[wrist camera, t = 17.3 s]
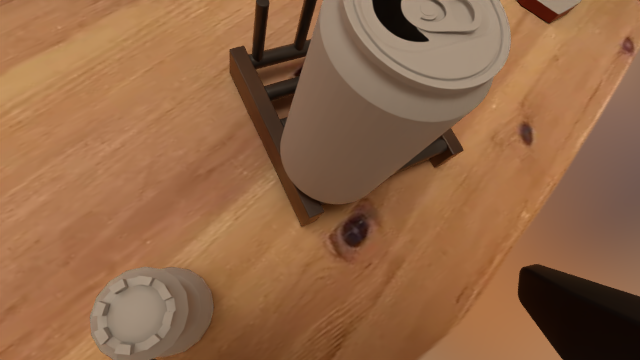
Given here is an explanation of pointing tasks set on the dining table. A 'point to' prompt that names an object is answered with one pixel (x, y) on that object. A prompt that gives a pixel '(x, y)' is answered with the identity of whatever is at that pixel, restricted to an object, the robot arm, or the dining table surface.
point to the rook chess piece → (151, 313)
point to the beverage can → (386, 88)
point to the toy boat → (549, 8)
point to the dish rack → (261, 96)
